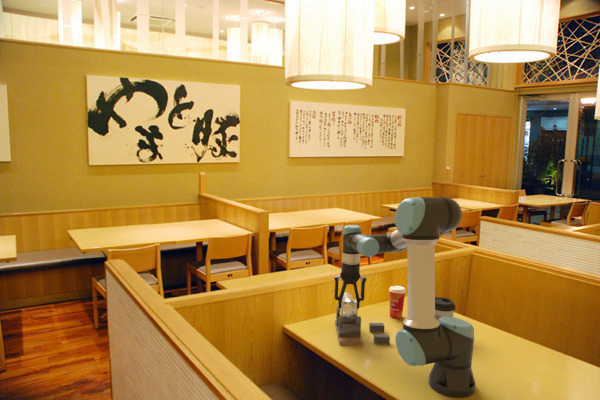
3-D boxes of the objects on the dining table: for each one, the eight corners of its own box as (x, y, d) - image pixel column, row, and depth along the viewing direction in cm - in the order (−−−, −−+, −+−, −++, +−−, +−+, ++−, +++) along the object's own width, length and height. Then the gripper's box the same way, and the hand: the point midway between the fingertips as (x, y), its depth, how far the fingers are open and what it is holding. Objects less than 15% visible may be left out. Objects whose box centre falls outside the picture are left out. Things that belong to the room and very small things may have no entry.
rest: (389, 344, 194) (389, 337, 194) (374, 344, 194) (375, 337, 194) (382, 329, 209) (383, 323, 209) (369, 329, 209) (369, 322, 208)
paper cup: (384, 314, 226) (385, 286, 224) (397, 312, 230) (399, 284, 228) (394, 320, 219) (395, 291, 217) (407, 318, 223) (409, 289, 221)
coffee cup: (459, 337, 203) (462, 303, 201) (437, 341, 199) (439, 306, 196) (442, 327, 213) (444, 295, 211) (420, 330, 209) (423, 297, 207)
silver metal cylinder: (357, 318, 193) (357, 306, 192) (344, 318, 193) (344, 306, 192) (352, 303, 211) (352, 291, 210) (340, 303, 211) (340, 292, 210)
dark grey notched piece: (361, 345, 192) (362, 322, 191) (339, 344, 192) (340, 322, 191) (354, 323, 214) (355, 303, 213) (334, 323, 214) (335, 303, 213)
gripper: (371, 260, 203) (368, 313, 206) (328, 259, 203) (326, 311, 206) (373, 265, 195) (370, 319, 199) (329, 264, 195) (327, 318, 198)
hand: (348, 315), depth 202 cm, fingers closed on silver metal cylinder, 5 cm apart
